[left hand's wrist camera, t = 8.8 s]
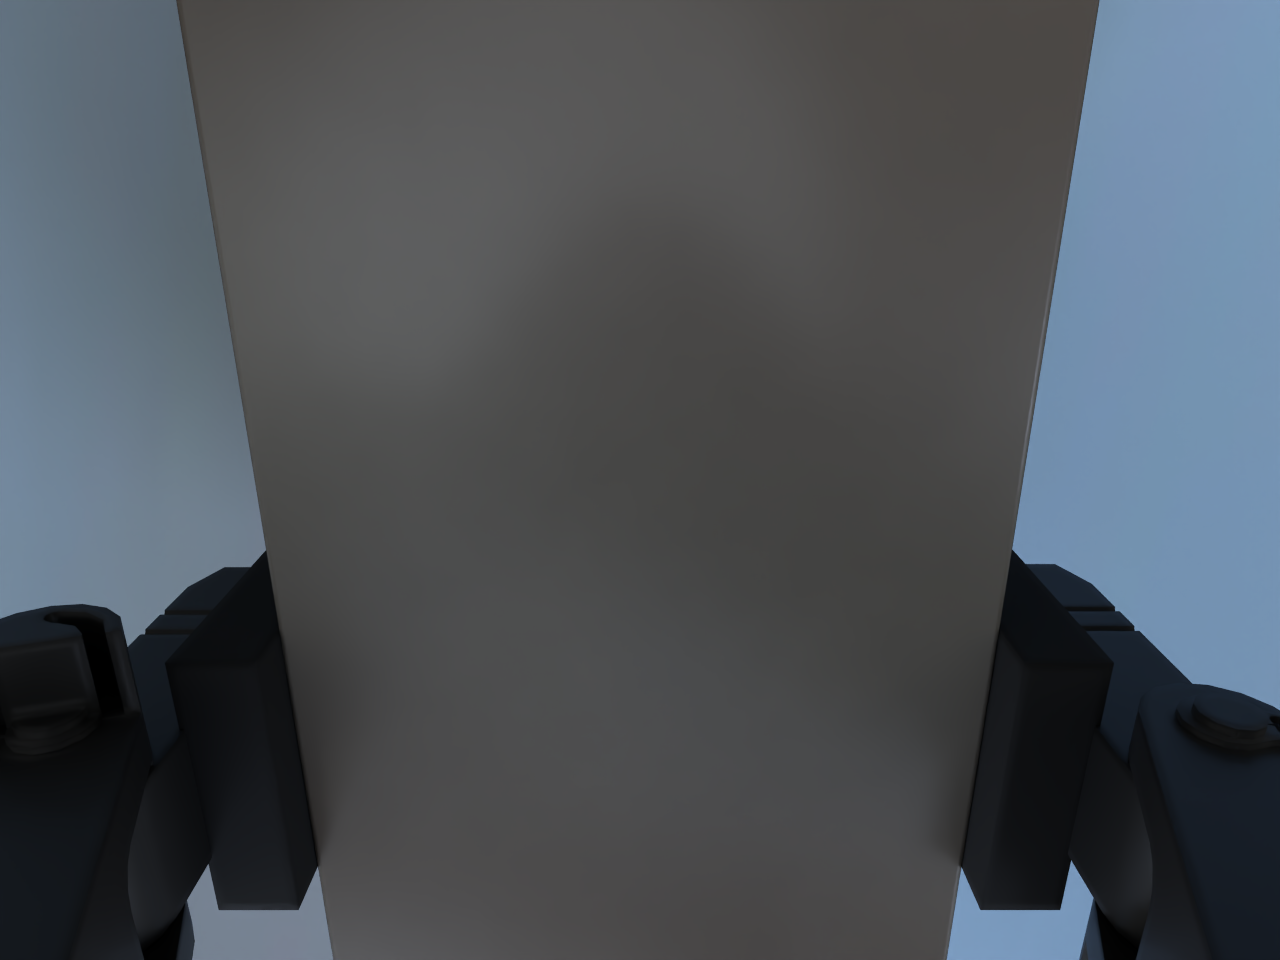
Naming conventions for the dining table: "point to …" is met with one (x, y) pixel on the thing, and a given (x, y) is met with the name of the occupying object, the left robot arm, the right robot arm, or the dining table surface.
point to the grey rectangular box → (638, 447)
